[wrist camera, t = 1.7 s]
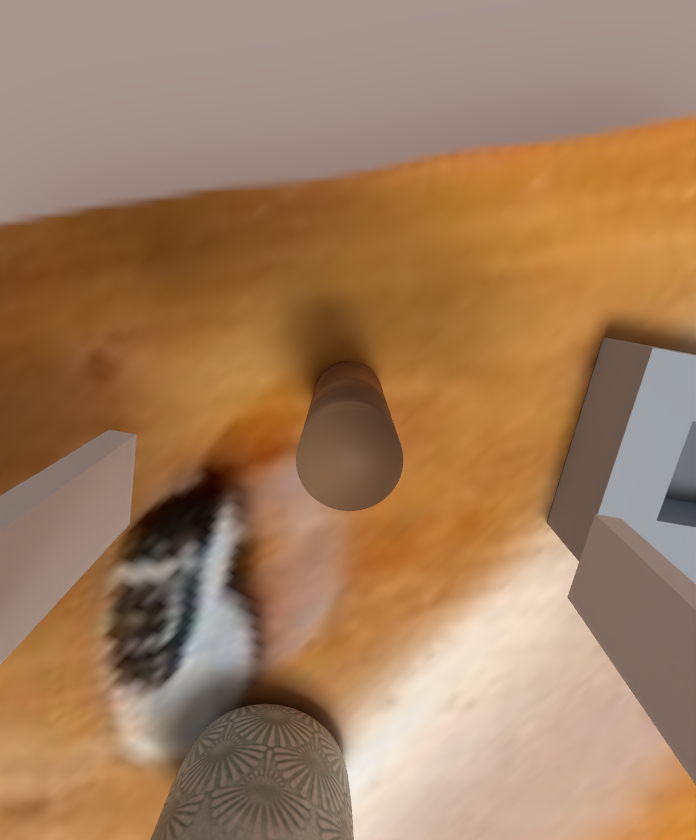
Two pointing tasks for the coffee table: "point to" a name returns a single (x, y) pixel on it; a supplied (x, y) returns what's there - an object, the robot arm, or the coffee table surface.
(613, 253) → the coffee table surface
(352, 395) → the dowel
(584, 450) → the socket
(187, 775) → the planter
